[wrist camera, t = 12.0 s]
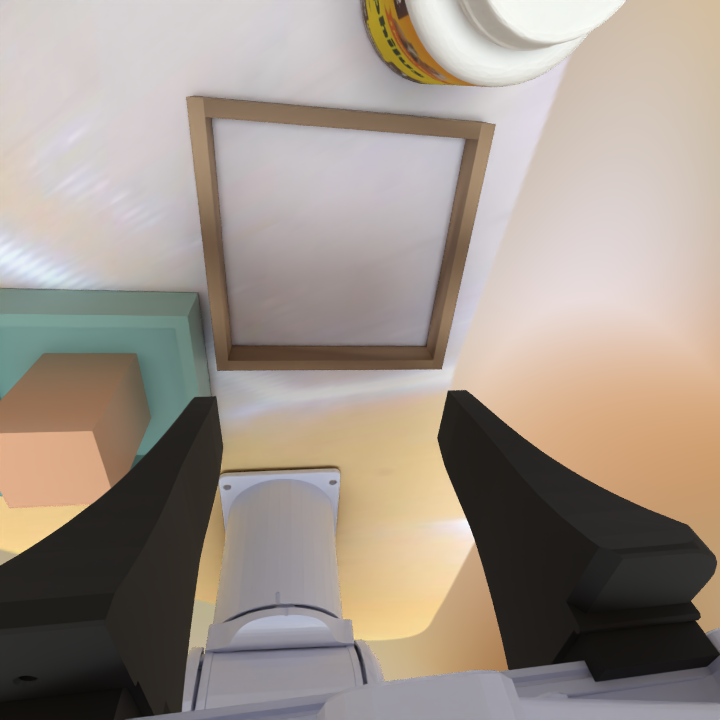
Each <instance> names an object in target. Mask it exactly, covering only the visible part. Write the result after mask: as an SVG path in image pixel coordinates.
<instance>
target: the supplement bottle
mask: <svg viewBox="0 0 720 720" xmlns="http://www.w3.org/2000/svg"><path fill="white" fill-rule="evenodd" d="M625 1H626V0H361V4H362V12H363V18H364V23H365V27H366V30H367V33H368V36H369V38H370V40H371V42H372V45H373V46H374V48H375V50H376V51H377V53H378V55H379V56H380V57H381V59H382V60H383V61H384V62H385V63H386V65H387V66H389V67H390V68H391V69H392V70H393V71H394V72H396V73H397V74H399V75H400V76H402V77H404V78H406V79H408V80H411V81H413V82H417V83H422V84H440V85H461V86H481V87H503V86H510V85H516V84H520V83H523V82H526V81H529V80H532V79H534V78H536V77H538V76H540V75H542V74H544V73H546V72H547V71H549V70H550V69H552V68H554V67H555V66H556V65H558V64H559V63H560V62H562V61H563V60H564V59H565V58H567V57H568V56H569V55H570V54H571V53H572V52H573V51H574V50H575V49H576V48H577V47H578V46H579V45H580V44H581V42H582V41H583V40H584V39H585V38H586V36H587V35H588V34H589V33H590V32H591V31H592V30H594V29H596V28H597V27H598V26H600V25H601V24H603V23H604V22H605V21H606V20H607V19H609V18H610V17H611V16H612V15H613V14H614V13H615V12H616V11H617V10H618V9H619V8H620V7H621V6H622V5H623V4H624V3H625Z"/></svg>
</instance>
